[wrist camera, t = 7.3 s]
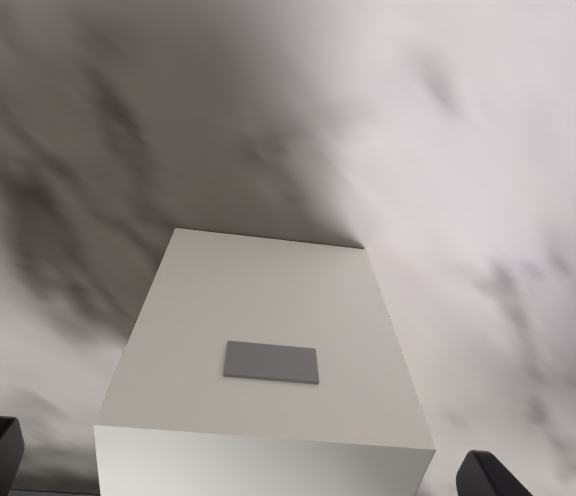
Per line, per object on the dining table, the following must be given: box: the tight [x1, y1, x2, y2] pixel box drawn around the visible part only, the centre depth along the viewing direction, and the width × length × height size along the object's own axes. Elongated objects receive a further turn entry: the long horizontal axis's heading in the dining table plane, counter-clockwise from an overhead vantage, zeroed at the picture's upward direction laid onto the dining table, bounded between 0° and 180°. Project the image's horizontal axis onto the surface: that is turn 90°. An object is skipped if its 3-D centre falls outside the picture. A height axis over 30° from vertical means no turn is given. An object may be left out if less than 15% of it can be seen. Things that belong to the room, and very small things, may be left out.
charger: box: [93, 228, 436, 496], centre depth 11 cm, size 5×8×6 cm, turn 172°
